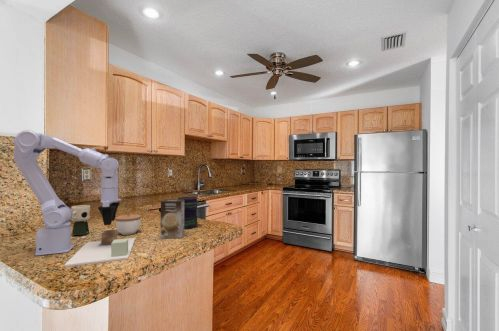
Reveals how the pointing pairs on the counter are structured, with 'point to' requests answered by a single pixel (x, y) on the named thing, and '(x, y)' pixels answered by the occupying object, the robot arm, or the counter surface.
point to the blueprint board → (97, 254)
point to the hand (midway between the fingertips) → (109, 222)
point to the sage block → (119, 247)
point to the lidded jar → (128, 223)
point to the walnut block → (108, 237)
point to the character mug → (80, 219)
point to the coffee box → (172, 218)
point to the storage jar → (190, 212)
